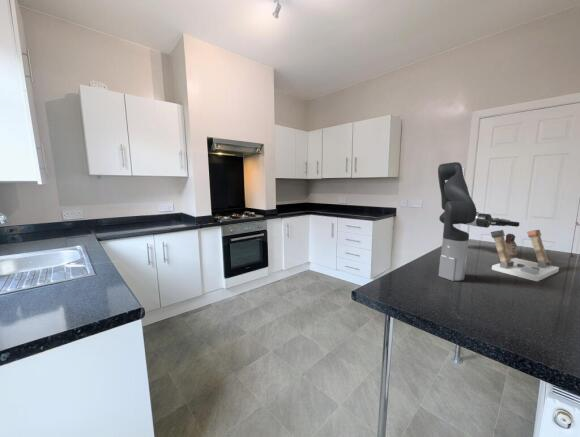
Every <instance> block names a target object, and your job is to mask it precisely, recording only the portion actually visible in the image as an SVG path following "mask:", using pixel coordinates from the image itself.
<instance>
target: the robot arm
mask: <svg viewBox="0 0 580 437" xmlns="http://www.w3.org/2000/svg"><path fill="white" fill-rule="evenodd" d="M437 177H438V184H439V190H440V195H441V196H440V197H441V199H440V200H441V202H440V203H441V209H442V210H443V212H442V213H441V214H440V215H439V221H440V222H441V223H442V224H443V233H442V243H441V253H440V257H439V268H438V277H440V278H443V279H446V280H449V281H452V282H453V281H456V282H457V281H464V280H465V274H466V266H467V258H468V257H467V256H468V250H469V249H468V247H469V241H470V240H469V238H470V234H469V233H468V232H467V231H464V230H461V229H458V228H457V227H456V226H454V225H460V224H461V225H467V226H471V227H480V228H484V229H487V228H489V227H490V226H493V227H495V226H496V227H497V226H498V227H516V228H517V227H519V226H520V221H512V220H510V219H505V218H499V217H492V215H491V214H489V213H483V212H477V207H476V204H475V203H474V201H473V199H472V197H471V195H470V192H469V189H468V188H469V186H468V185H467V183H466V180H465V177H464V170H463V166H462V164H461V163H460V162H457V161H454V162H448V163H447V162H446V163H441V164H439V165H438V168H437Z"/></svg>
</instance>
